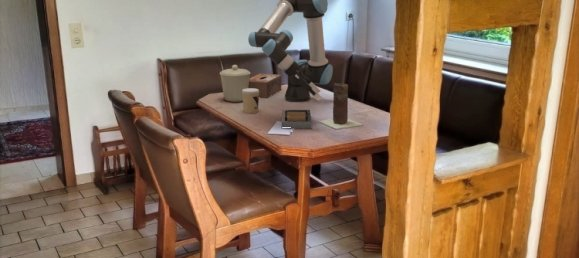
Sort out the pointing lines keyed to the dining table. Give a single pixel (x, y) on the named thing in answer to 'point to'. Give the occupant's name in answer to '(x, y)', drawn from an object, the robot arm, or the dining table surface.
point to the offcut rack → (297, 124)
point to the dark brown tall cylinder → (340, 103)
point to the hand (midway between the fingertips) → (319, 95)
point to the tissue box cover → (266, 84)
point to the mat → (340, 126)
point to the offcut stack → (296, 116)
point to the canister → (234, 83)
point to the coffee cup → (250, 100)
